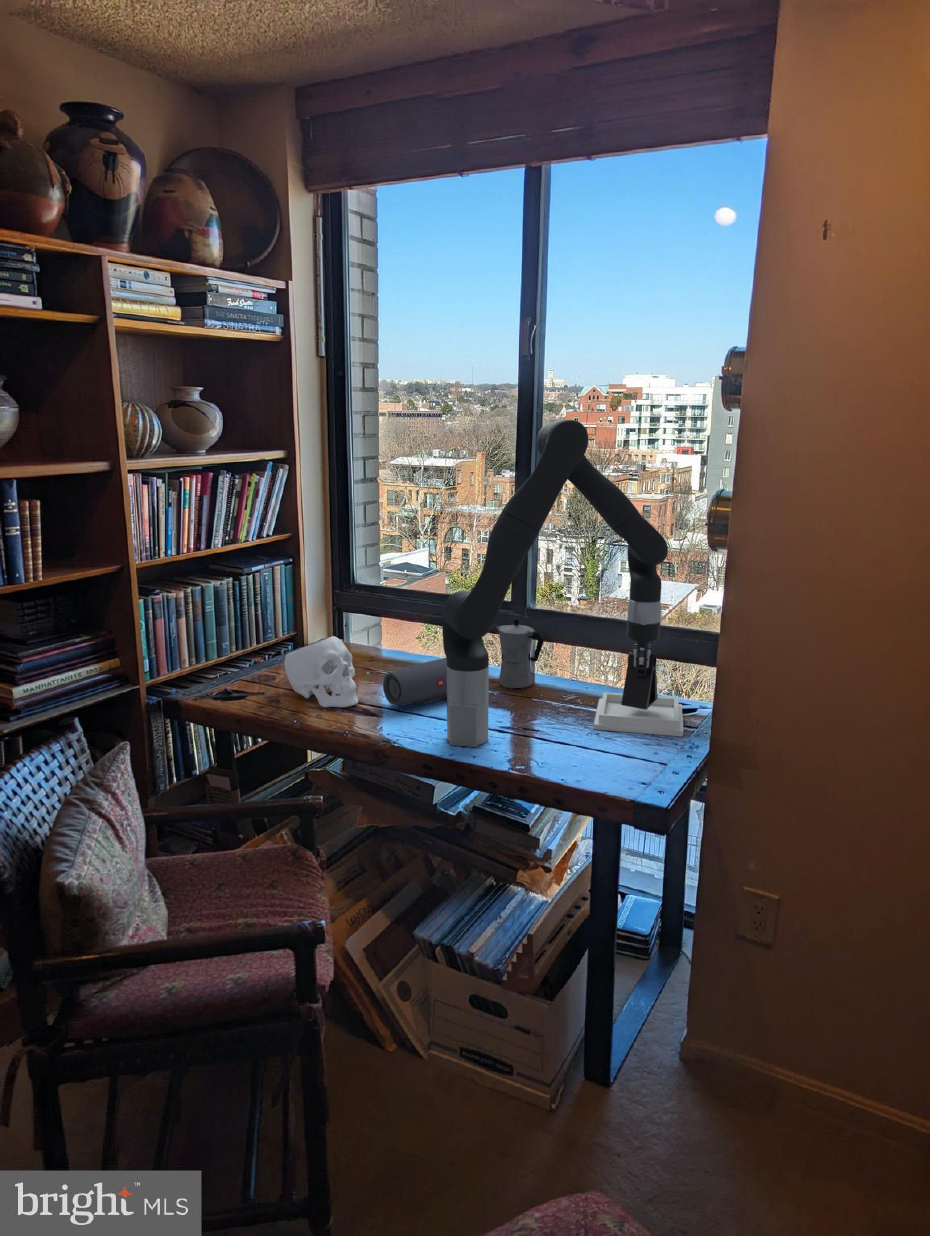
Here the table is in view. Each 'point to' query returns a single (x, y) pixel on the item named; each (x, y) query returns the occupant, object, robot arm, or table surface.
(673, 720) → the shallow square tray
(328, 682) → the skull planter
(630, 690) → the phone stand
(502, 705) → the table surface
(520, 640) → the coffeepot
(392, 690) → the bluetooth speaker
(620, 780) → the table surface
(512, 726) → the table surface
